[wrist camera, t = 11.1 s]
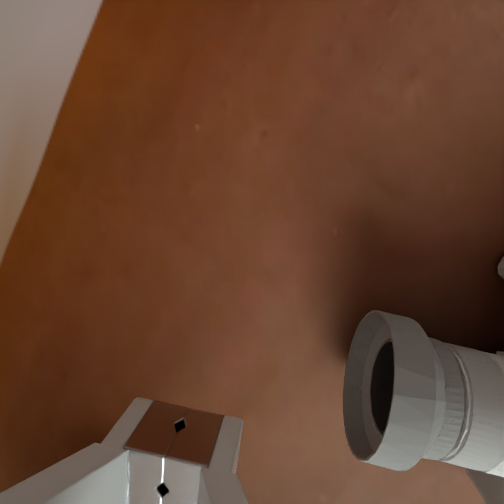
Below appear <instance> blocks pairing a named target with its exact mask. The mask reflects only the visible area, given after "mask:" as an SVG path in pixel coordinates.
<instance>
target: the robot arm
mask: <svg viewBox="0 0 504 504" xmlns="http://www.w3.org/2000/svg"><path fill="white" fill-rule="evenodd" d="M242 428H243V418H238V417H233V416H228V415H221V414H216V413H211V412H206V411H201V410H196V409H191V408H186V407H182V406H177V405H173V404H169V403H165V402H160V401H154V400H150V399H146V398H142V397H137V398H136V399H134V400H133V401H132V403H131V404H130V405H129V407H128V408H127V409H126V411H125V412H124V413H123V415H122V416H121V417H120V419H119V420H118V421H117V423H116V424H115V425H114V427H113V428H112V429H111V431H110V432H109V433H108V435H107V436H106V437H105V438H104V440H103V441H102V442H101V444H99V443H93V444H91V445H89V446H88V447H86V448H84V449H82V450H80V451H78V452H76V453H74V454H73V455H71V456H69V457H67V458H65V459H63V460H61V461H59V462H57V463H56V464H54V465H52V466H50V467H48V468H46V469H44V470H42V471H41V472H39V473H37V474H35V475H33V476H31V477H29V478H27V479H25V480H24V481H22V482H20V483H18V484H16V485H14V486H12V487H10V488H9V489H7V490H5V491H3V492H1V493H0V504H249V502H248V500H247V497H246V495H245V492H244V490H243V487H242V485H241V482H240V480H239V477H238V475H236V470H237V463H238V457H239V450H240V443H241V435H242Z"/></svg>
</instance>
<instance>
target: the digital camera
mask: <svg viewBox="0 0 504 504" xmlns="http://www.w3.org/2000/svg"><path fill="white" fill-rule="evenodd" d="M498 274H499V275H500V276H501V277H502V278H503V279H504V257H503V258H502V260H501V261H500V263H499V265H498ZM343 416H344V426H345V433H346V437H347V441H348V445H349V447H350V449H351V451H352V454H353V455H354V456H355V457H356V458H357V459H358V460H359V461H363V462H366V463H370V464H374V465H377V466H381V467H385V468H388V469H392V470H396V471H406V470H409V469H410V468H411V467H413V466H414V465H415V464H416V463H417V462H418V461H419V460H420V459H421V458H425V459H429V460H439V461H443V462H447V463H450V464H454V465H458V466H461V467H465V468H467V474H468V476H469V478H470V479H471V481H472V482H473V484H474V485H475V487H476V488H477V490H478V491H479V493H480V495H481V496H482V498H483V499H484V501H485V502H486V504H504V352H500V351H497V353H496V354H491V353H487V352H482V351H479V350H475V349H471V348H467V347H462V346H458V345H453V344H449V343H445V342H441V341H439V340H437V339H433V338H429V337H428V336H427V335H426V333H425V332H424V330H423V329H422V327H421V326H420V325H419V324H418V323H417V321H415V320H413V319H411V318H409V317H405V316H400V315H396V314H391V313H387V312H383V311H378V310H372V311H371V312H369V313H367V314H366V315H365V317H364V318H363V319H362V320H361V322H360V324H359V326H358V328H357V330H356V332H355V335H354V337H353V340H352V343H351V346H350V350H349V355H348V359H347V364H346V370H345V377H344V389H343Z"/></svg>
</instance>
